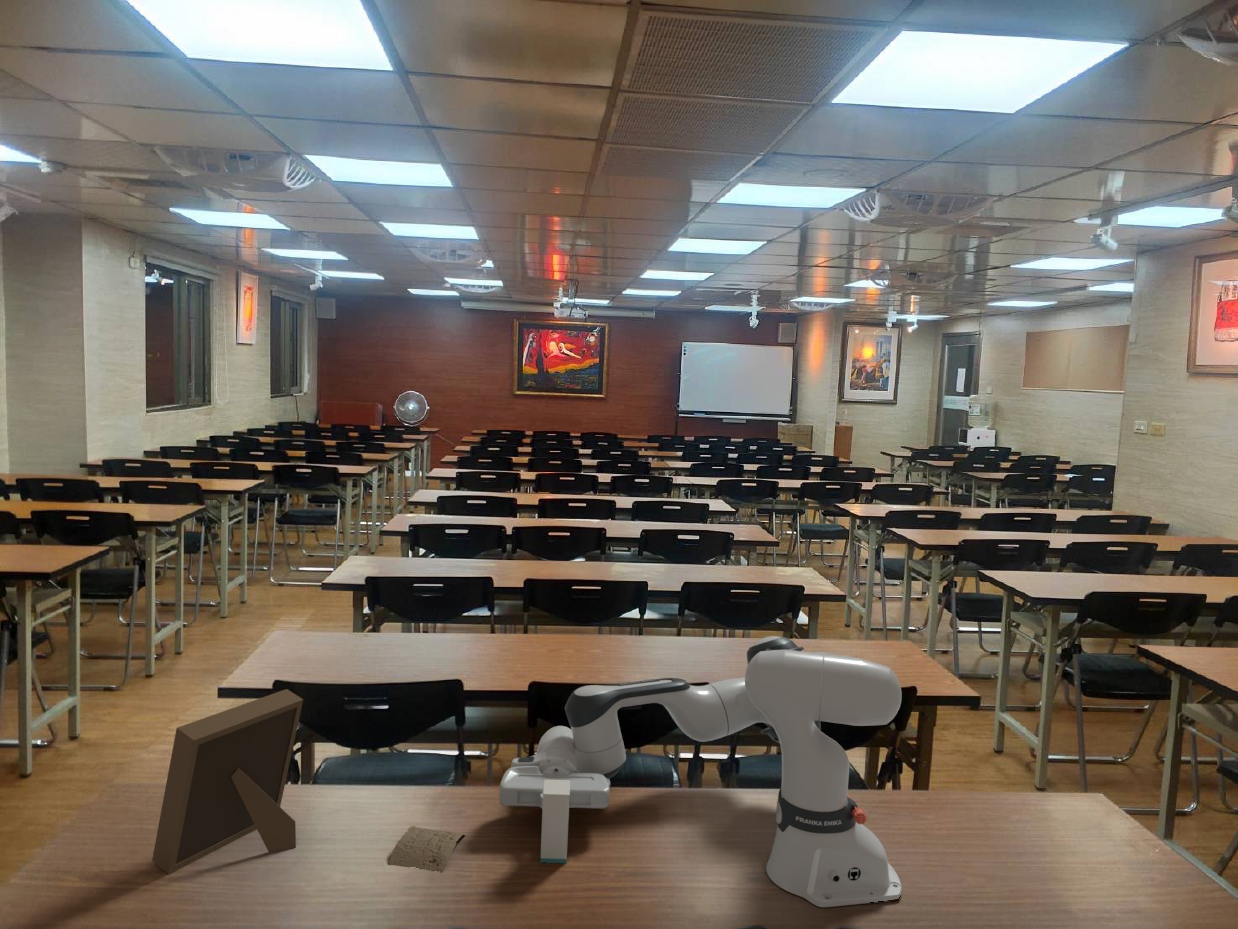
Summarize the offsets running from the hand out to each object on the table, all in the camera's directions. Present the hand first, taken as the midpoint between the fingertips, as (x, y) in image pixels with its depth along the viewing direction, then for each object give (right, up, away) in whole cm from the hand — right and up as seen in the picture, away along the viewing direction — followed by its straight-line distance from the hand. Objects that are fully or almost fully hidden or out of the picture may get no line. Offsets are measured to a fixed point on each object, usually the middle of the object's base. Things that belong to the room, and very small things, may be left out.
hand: (553, 811), depth 152 cm
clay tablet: (-22, -7, -1) cm, 23 cm away
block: (0, -7, -1) cm, 7 cm away
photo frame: (-54, -5, -4) cm, 54 cm away
